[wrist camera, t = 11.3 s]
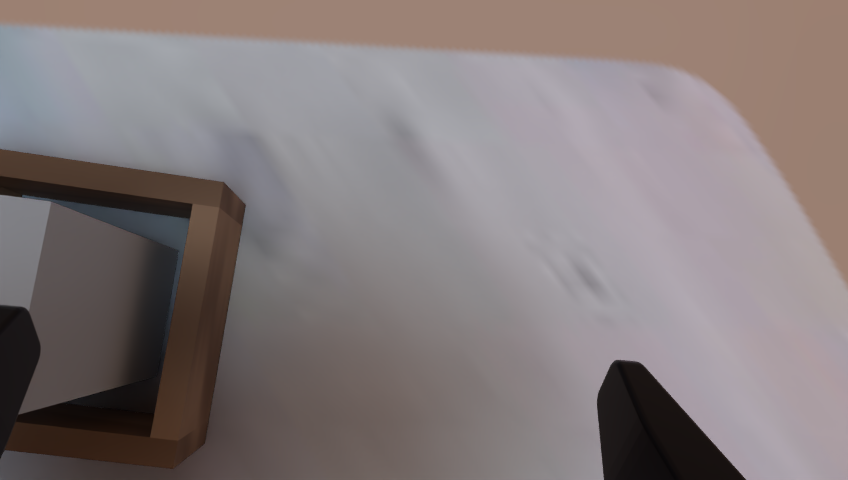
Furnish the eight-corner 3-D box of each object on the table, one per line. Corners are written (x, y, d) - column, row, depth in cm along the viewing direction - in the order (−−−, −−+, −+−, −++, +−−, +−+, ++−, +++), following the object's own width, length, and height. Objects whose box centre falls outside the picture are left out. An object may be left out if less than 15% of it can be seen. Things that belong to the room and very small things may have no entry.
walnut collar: (204, 443, 23) (173, 468, 19) (-52, 413, 22) (-139, 433, 18) (245, 205, 24) (223, 182, 20) (3, 169, 23) (-68, 139, 20)
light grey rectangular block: (156, 376, 23) (7, 417, 13) (24, 360, 23) (-230, 391, 13) (178, 251, 24) (51, 201, 14) (50, 234, 23) (-175, 171, 14)
